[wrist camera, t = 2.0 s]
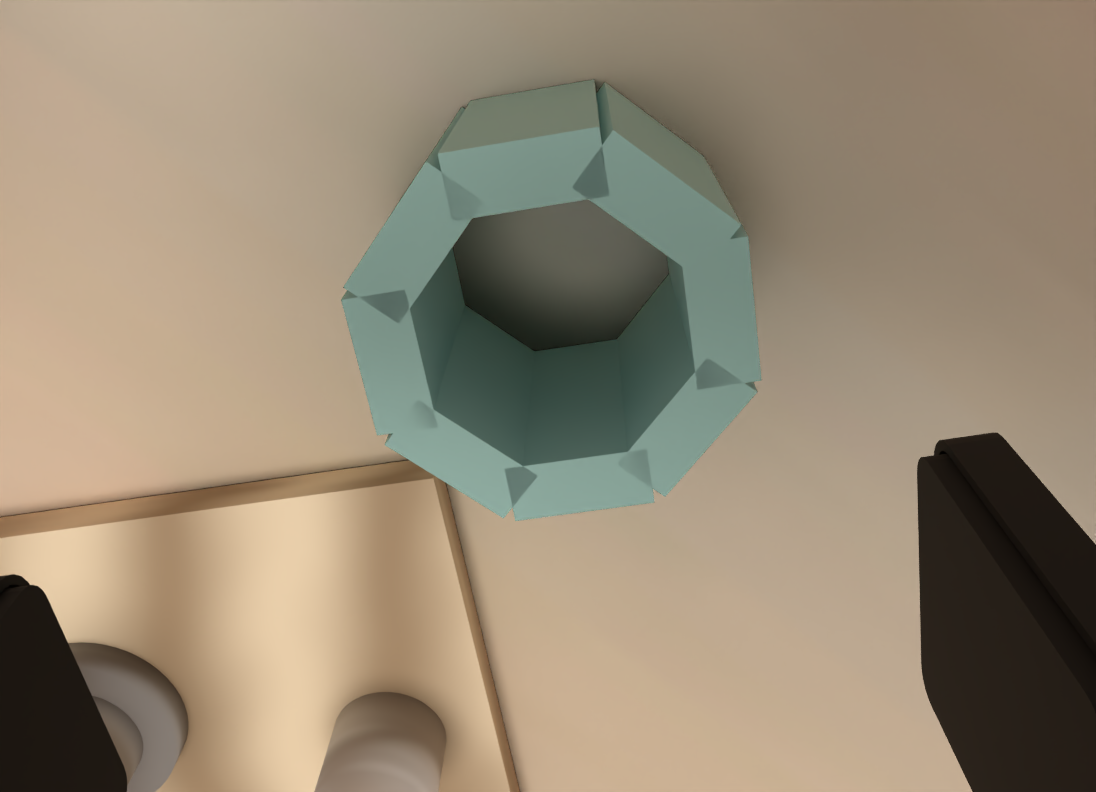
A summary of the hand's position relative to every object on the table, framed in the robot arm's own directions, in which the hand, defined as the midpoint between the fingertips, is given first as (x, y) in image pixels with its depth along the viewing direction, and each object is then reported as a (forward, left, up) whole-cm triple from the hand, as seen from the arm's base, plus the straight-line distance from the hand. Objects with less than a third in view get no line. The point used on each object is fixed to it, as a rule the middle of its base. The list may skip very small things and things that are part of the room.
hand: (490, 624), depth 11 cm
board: (+12, +11, -15) cm, 22 cm away
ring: (0, 0, -15) cm, 15 cm away
